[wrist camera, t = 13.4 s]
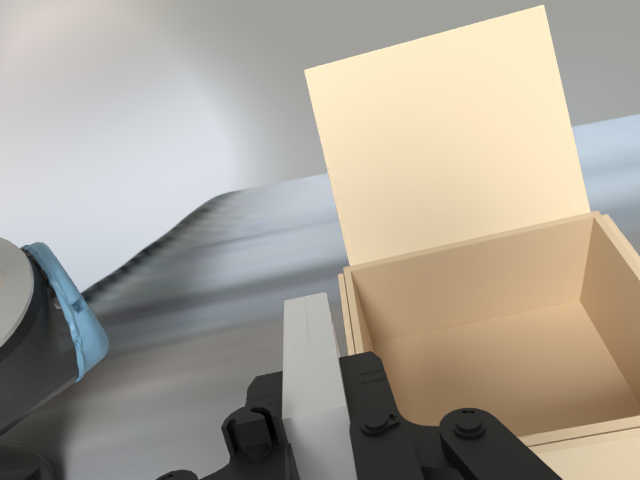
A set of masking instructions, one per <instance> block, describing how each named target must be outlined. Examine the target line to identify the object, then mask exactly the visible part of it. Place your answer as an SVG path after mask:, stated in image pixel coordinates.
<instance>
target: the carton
mask: <svg viewBox="0 0 640 480" xmlns="http://www.w3.org/2000/svg"><path fill="white" fill-rule="evenodd" d="M343 269H344V274H338V280H339V287H340V295H341V302H342V310H343V317H344V325H345V332H346V340H347V347H348V355H354V354H359V353H364V352H368V351H372V352H373V353H375V354H376V355H377V356H378V357H380V358H381V360H382V363H383V366H384V369H385V372H386V375H387V378H388V381H389V384H390V387H391V390H392V393H393V396H394V399H395V402H396V405H397V408H398V410H399V412H400V414H401V415H402V416H403V417H404V418H405V419H406V420H408V421H410V422H412V423H415V424H418V425H425V426H439V424H440V421H441V420H442V418H443V417H444V416H445V415H446V414H448V413H450V412H451V411H453V410H457V409H461V408H477V409H481V410H484V411H487V412H489V413H490V414H492V415H493V416H495V417H496V418H497V419H498V420H499V421H500V422H501V423H502V424H503V425H505V426H506V427H507V428H508V429H509V430H510V431H511V432H512V433H513V434H514V435H515V436H516V437H517V438H519V439H520V440H521V441H522V442H523V443H524V444H525V445H526V446H527V447H528V448H529V449H530V450H532V451H533V452H534V453H535V454H536V455H537V456H538V457H539V458H540V459H541V460H542V461H543V462H544V463H546V464H547V465H548V466H549V467H550V468H551V469H552V470H553V471H554V472H555V473H556V474H557V475H559V476H560V477H561V478H562V479H563V480H640V257H639V255H638V254H637V253H636V251H635V250H634V249H633V247H632V246H631V245H630V243H629V242H628V241H627V239H626V238H625V237H624V235H623V234H622V233H621V231H620V230H619V229H618V227H617V226H616V225H615V223H614V222H613V221H612V219H611V218H610V217H609V215H608V214H607V215H601V214H600V213H599V211H598V210H597V211H593V212H588V213H584V214H580V215H575V216H571V217H566V218H562V219H557V220H553V221H548V222H544V223H539V224H535V225H531V226H526V227H522V228H517V229H513V230H508V231H504V232H499V233H495V234H490V235H486V236H482V237H477V238H473V239H468V240H464V241H459V242H455V243H450V244H446V245H442V246H437V247H433V248H428V249H424V250H419V251H415V252H410V253H406V254H401V255H397V256H393V257H388V258H384V259H379V260H375V261H370V262H366V263H361V264H357V265H352V266H348V267H344V268H343ZM344 276H345V277H344Z"/></svg>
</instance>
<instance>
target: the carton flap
mask: <svg viewBox="0 0 640 480" xmlns="http://www.w3.org/2000/svg"><path fill="white" fill-rule="evenodd" d="M304 71H305V76H306V80H307V84H308V88H309V93H310V97H311V102H312V106H313V110H314V114H315V119H316V123H317V127H318V132H319V136H320V140H321V144H322V149H323V153H324V157H325V161H326V166H327V170H328V174H329V179H330V183H331V187H332V192H333V196H334V200H335V204H336V209H337V213H338V217H339V222H340V226H341V230H342V234H343V239H344V243H345V247H346V252H347V256H348V260H349V264H350V266H352V265H357V264H361V263H366V262H370V261H375V260H379V259H383V258H388V257H392V256H397V255H401V254H406V253H410V252H415V251H419V250H424V249H428V248H432V247H437V246H441V245H446V244H450V243H455V242H459V241H464V240H468V239H472V238H477V237H481V236H486V235H490V234H495V233H499V232H504V231H508V230H513V229H517V228H521V227H526V226H530V225H535V224H539V223H544V222H548V221H553V220H557V219H562V218H566V217H570V216H575V215H579V214H584V213H588V212H590V207H589V203H588V199H587V194H586V190H585V185H584V181H583V176H582V172H581V168H580V163H579V159H578V154H577V150H576V145H575V141H574V137H573V132H572V128H571V123H570V119H569V115H568V110H567V105H566V101H565V97H564V92H563V88H562V83H561V79H560V75H559V70H558V66H557V61H556V57H555V52H554V48H553V43H552V39H551V34H550V30H549V26H548V21H547V17H546V12H545V8H544V5H541V6H538V7H534V8H531V9H526V10H523V11H519V12H515V13H512V14H508V15H505V16H501V17H497V18H493V19H490V20H486V21H482V22H479V23H475V24H472V25H468V26H464V27H460V28H457V29H453V30H449V31H446V32H442V33H438V34H435V35H431V36H427V37H424V38H420V39H416V40H413V41H409V42H405V43H402V44H398V45H394V46H391V47H387V48H384V49H380V50H376V51H372V52H369V53H365V54H361V55H358V56H354V57H350V58H347V59H343V60H339V61H336V62H332V63H328V64H325V65H321V66H317V67H314V68H310V69H306V70H304Z"/></svg>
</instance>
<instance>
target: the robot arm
mask: <svg viewBox="0 0 640 480" xmlns="http://www.w3.org/2000/svg"><path fill="white" fill-rule="evenodd" d="M108 349H109V339H108V337H107V335H106V333H105V331H104V329H103V328H102V326H101V324H100V323H99V321H98V320H97V318H96V317H95V315H94V313H93V312H92V310H91V309H90V307H89V306H88V305H87V303H86V302H85V301H84V299H83V297H82V295H81V294H80V292H79V291H78V289H77V287H76V286H75V285H74V283H73V281H72V280H71V278H70V277H69V275H68V274H67V272H66V271H65V270H64V268H63V267H62V265H61V264H60V262H59V261H58V259H57V258H56V257H55V255H54V254H53V252H52V251H51V250H50V248H49V247H48V246H47V245H46V244H44V243H41V242H36V243H34V244H31V245H25V246H23V247H21V248H18V247H17V246H16V245H14V244H12V243H11V242H10V241H8V240H5V239H3V238H0V436H1V435H3V434H4V433H5V432H7V431H8V430H9V429H11V428H12V427H14V426H15V425H16V424H18V423H19V422H20V421H22V420H23V419H24V418H26V417H27V416H28V415H30V414H31V413H33V412H34V411H35V410H37V409H38V408H40V407H41V406H42V405H44V404H45V403H46V402H48V401H49V400H51V399H52V398H53V397H55V396H56V395H58V394H59V393H60V392H62V391H63V390H65V389H66V388H67V387H69V386H70V385H71V384H73V383H76V382H78V381H79V380H81V379H82V377H83V376H84V374H85V373H86V372H87V371H89V370H90V369H91V368H92V367H94V366H95V365H96V364H97V363H98V362H100V361H101V360H102V359H103V358H104V357H105V356H106V354H107V352H108ZM246 400H247V402H246V406H245V407H242V408H240V409H238V410H236V411H235V412H233V413H231V414H230V415H229V416H228V417H227V418H226V419H225V421H224V423H223V425H222V427H221V429H222V432H223V435H224V438H225V442H226V445H227V448H228V451H229V454H230V462H229V464H227V465H226V466H225V467H223V468H222V469H220V470H218V471H217V472H215V473H213V474H211V475H208V476H206V477H204V478H202V479H200V480H563V479H562V478H561V477H560V476H559V475H557V474H556V473H555V472H554V471H553V470H552V469H551V468H550V467H549V466H548V465H547V464H546V463H544V462H543V461H542V460H541V459H540V458H539V457H538V456H537V455H536V454H535V453H534V452H533V451H532V450H530V449H529V448H528V447H527V446H526V445H525V444H524V443H523V442H522V441H521V440H520V439H519V438H517V437H516V436H515V435H514V434H513V433H512V432H511V431H510V430H509V429H508V428H507V427H506V426H505V425H503V424H502V423H501V422H500V421H499V420H498V419H497V418H496V417H495V416H493V415H492V414H490V413H489V412H487V411H484V410H481V409H477V408H461V409H457V410H453V411H451V412H450V413H448V414H446V415H445V416H444V417H443V418H442V420H441V421H440V424H439V426H425V425H418V424H415V423H412V422H410V421H408V420H406V419H405V418H404V417H403V416H402V415H401V414H400V412H399V410H398V408H397V405H396V402H395V399H394V396H393V393H392V390H391V387H390V384H389V381H388V378H387V375H386V372H385V369H384V366H383V363H382V360H381V358H380V357H378V356H377V355H376V354H375V353H373V352H372V351H368V352H364V353H359V354H354V355H349V356H345V357H340V354H339V349H338V344H337V340H336V335H335V331H334V326H333V322H332V317H331V312H330V308H329V303H328V299H327V294H326V292H323V293H318V294H313V295H309V296H304V297H299V298H295V299H290V300H285V301H284V339H283V371H280V372H275V373H271V374H266V375H261V376H257V377H255V379H254V380H253V382H252V383H251V384H250V386H249V387H248V391H247V399H246ZM0 480H58V479H57V475H56V472H55V470H54V468H53V466H52V465H51V464H50V462H49V461H48V460H47V459H45V458H44V457H42V456H41V455H39V454H38V453H36V452H35V451H33V450H32V449H30V448H28V447H26V446H23V445H19V444H13V443H6V442H0ZM156 480H198V478H197V475H196V474H194V473H193V472H192V471H188V470H177V471H172V472H169V473H167V474H165V475H162V476H160V477H159V478H158V479H156Z"/></svg>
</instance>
